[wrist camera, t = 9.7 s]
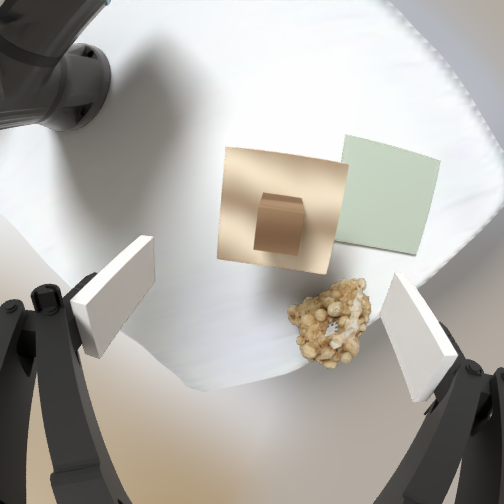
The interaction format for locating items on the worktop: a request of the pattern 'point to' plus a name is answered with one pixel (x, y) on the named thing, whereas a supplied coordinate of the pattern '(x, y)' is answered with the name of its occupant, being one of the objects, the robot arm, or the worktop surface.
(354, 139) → the mat
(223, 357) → the worktop surface
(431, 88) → the worktop surface
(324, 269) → the lid
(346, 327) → the mineral formation
